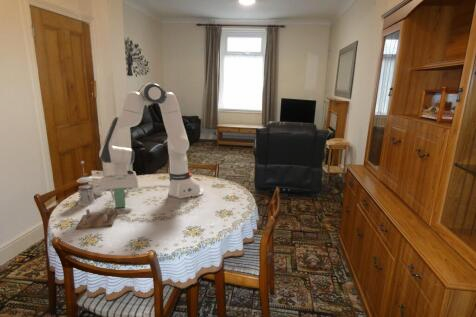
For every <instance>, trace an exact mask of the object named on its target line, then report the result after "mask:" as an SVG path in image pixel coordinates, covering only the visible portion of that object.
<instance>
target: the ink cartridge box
mask: <svg viewBox="0 0 476 317" xmlns="http://www.w3.org/2000/svg"><path fill="white" fill-rule="evenodd" d="M104 176H105V171H103V170H91V175H90V176H88V177H90V178H92V181H90V182H87V185H92V187H93V191H94V192H93V193H94V196H98V195H100V197H102V196H104V195H106V193H107V191H104V192H103V191H102V190H101V189H100V186H101V178H102V177H104ZM88 191H90V190H88Z"/></svg>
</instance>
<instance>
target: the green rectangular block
mask: <svg viewBox="0 0 476 317" xmlns="http://www.w3.org/2000/svg"><path fill="white" fill-rule="evenodd" d="M124 193H126V191H125V190H124V188H123V189H115V190H114V191H113V194H114V197H115V198H114V205H115V208H116V209H117V208H126V206H127V205H126V204H127V203H126V197H124Z"/></svg>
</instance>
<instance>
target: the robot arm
mask: <svg viewBox="0 0 476 317" xmlns="http://www.w3.org/2000/svg"><path fill="white" fill-rule="evenodd" d="M147 103H150V104H158V106H159V108H160V112H161V116H162V120H163V125H164V128H165V131H166V134H167V152H168V159H169V172H168V178H169V188H168V192H167V194H168V195H169V196H171V197H175V198H177V199H185V198H191V196H192V197H197V196H202V195H204V193H203V192H204V189H203V187H201V186H200V183H199V181H198V180H197V179H195V178H194V177H193V174H192V172H191V171H189V170H188V169H189V168H188V157H187V151H188V150H189V148H190V141H189V139H188V134H187V131H186V128H185V125H184V121H183V118H182V116H183V115H182V113H181V112H182V111H181V109H180V105H179V102H178V99H177V96H176V94H174V93H173V92H171V91H165V90H164V88H163V87H162V86H161V85H160V84H158V83H154V82H148V83H145V84H144V85H142V86H141V88H140V89H139V90H137V91H135V90H132V91H129V92H128V93H127V94H126V96H125V98H124V101H123V105H122V109H121V112H120V114H119V115H118V116H115V118H114V119H113V120H112V122H111V124H110V127H109V129H108V131H107V134H106V136H105V139H104V141H103V144H102V146H101V148H100V150H99V152H98V156H99V160H101V162H103V163H105V164H112V172H111V175H104V177H102V178H101V186H100V189H101V190H102V191H103V192H104V191H106V192H110V194H111V198H112V199H115V197H114V190H115V189H123V188H124V191H125V193H124V197H125V198H127V197H128V194H129V193H130V191H131V190H139V180H138V177H137V173H136V171H134V170H129V166H131V165H132V164H134V162H135V154H136V153H135V151H134V149H133V148H131V147H125V146H116V145H113V143H114V141H115V138H116V135H117V133H118V132H119V131H120V130H123V129H124V130H125V129H127V128H128V129H129V128H132V127H137V126H138V125H139V124H140V123H141V121H142V119H143V114H144V109H145V106H146V104H147Z"/></svg>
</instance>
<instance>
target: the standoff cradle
mask: <svg viewBox="0 0 476 317" xmlns="http://www.w3.org/2000/svg"><path fill="white" fill-rule="evenodd" d="M105 210H106V211H105V213H104V212H103V213H92V214H91V213H90V209H86V210H85V212H86V214H83V215H82V216H81V218H80V220H79V221H78V224H77V225H76V227H75V229H76V231H77V230H88V229H96V228H97V229H98V228H108V227H113V224H114V222H115V219H116V216H117V211H115V212H110V207H106V208H105Z"/></svg>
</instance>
